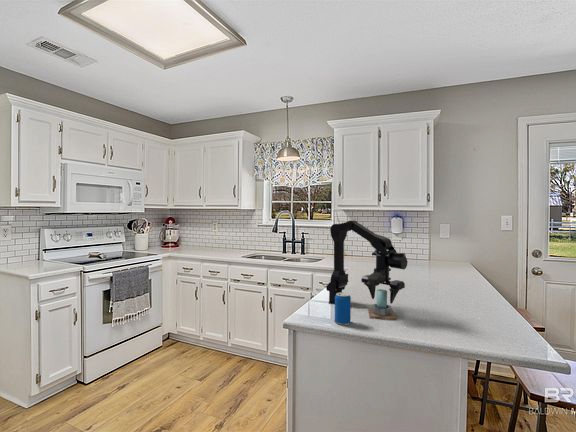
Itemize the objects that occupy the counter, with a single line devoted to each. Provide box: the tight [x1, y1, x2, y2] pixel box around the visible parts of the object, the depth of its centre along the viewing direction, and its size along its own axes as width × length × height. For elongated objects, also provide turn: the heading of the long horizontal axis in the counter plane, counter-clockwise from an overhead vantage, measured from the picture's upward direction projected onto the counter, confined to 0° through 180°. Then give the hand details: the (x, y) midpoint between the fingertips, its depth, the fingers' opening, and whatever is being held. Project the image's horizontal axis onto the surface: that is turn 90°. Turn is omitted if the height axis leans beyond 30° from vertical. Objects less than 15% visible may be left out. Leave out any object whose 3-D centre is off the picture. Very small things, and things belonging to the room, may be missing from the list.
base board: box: [367, 308, 397, 321], centre depth 145 cm, size 11×11×1 cm
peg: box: [376, 288, 388, 308], centre depth 145 cm, size 4×4×10 cm
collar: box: [371, 303, 393, 316], centre depth 145 cm, size 8×8×3 cm
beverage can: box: [334, 291, 352, 326], centre depth 135 cm, size 6×6×12 cm
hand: (382, 301), depth 145 cm, fingers open, 9 cm apart
